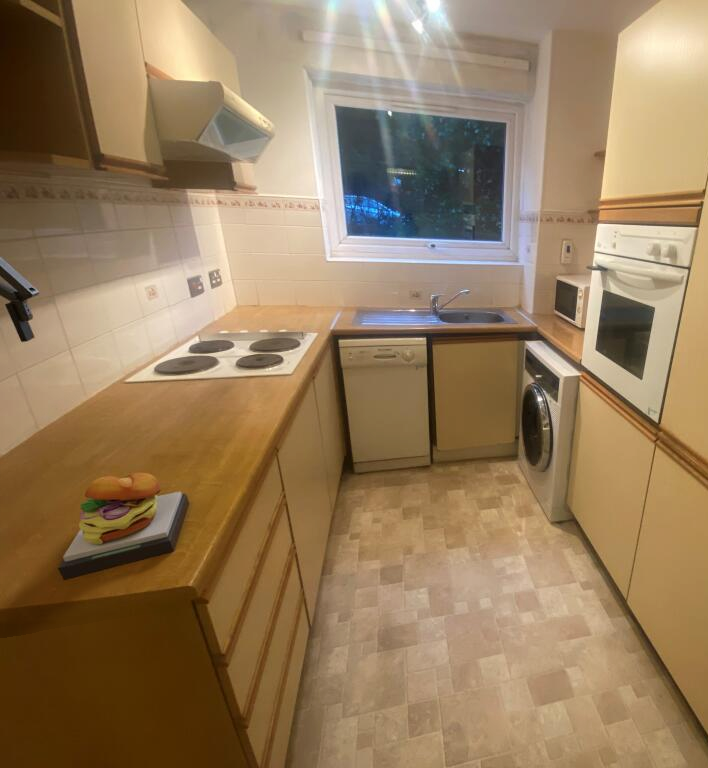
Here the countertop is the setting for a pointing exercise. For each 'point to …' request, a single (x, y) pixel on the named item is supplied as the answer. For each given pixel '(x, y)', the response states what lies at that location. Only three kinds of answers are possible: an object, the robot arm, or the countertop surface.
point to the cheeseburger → (118, 506)
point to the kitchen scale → (129, 541)
